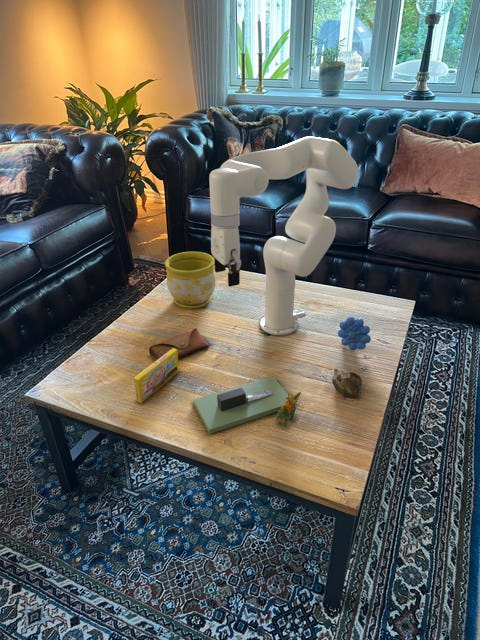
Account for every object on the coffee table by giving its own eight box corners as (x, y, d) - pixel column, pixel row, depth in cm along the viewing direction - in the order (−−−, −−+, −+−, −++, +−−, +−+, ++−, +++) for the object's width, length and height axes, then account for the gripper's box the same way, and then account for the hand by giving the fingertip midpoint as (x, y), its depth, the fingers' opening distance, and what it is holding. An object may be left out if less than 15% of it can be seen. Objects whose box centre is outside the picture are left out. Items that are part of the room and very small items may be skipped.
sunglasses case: (163, 366, 131) (155, 345, 131) (154, 367, 137) (146, 347, 136) (211, 344, 141) (204, 325, 140) (201, 345, 147) (194, 327, 146)
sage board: (272, 379, 127) (272, 375, 126) (293, 406, 117) (294, 401, 116) (193, 403, 118) (193, 399, 117) (209, 434, 109) (209, 429, 108)
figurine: (270, 429, 110) (271, 405, 106) (294, 403, 118) (296, 379, 114) (281, 435, 108) (283, 410, 104) (305, 407, 117) (307, 383, 112)
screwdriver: (221, 411, 114) (220, 401, 112) (217, 405, 116) (217, 394, 114) (273, 395, 119) (273, 384, 117) (269, 389, 121) (269, 379, 119)
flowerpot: (175, 288, 175) (172, 250, 167) (220, 291, 173) (219, 252, 165) (163, 311, 160) (158, 270, 152) (211, 314, 158) (209, 273, 149)
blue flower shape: (375, 352, 138) (381, 320, 131) (362, 361, 134) (368, 327, 128) (345, 337, 145) (350, 305, 139) (332, 344, 141) (336, 312, 135)
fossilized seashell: (328, 368, 127) (327, 396, 119) (343, 356, 123) (343, 383, 115) (349, 380, 128) (350, 407, 121) (365, 368, 124) (366, 396, 117)
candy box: (142, 404, 118) (138, 380, 114) (136, 401, 119) (132, 377, 115) (179, 372, 130) (177, 349, 126) (174, 369, 131) (171, 347, 127)
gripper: (200, 211, 120) (203, 268, 129) (224, 231, 107) (226, 294, 116) (225, 207, 123) (227, 264, 132) (252, 227, 109) (252, 288, 118)
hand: (226, 278), depth 124 cm, fingers open, 9 cm apart
